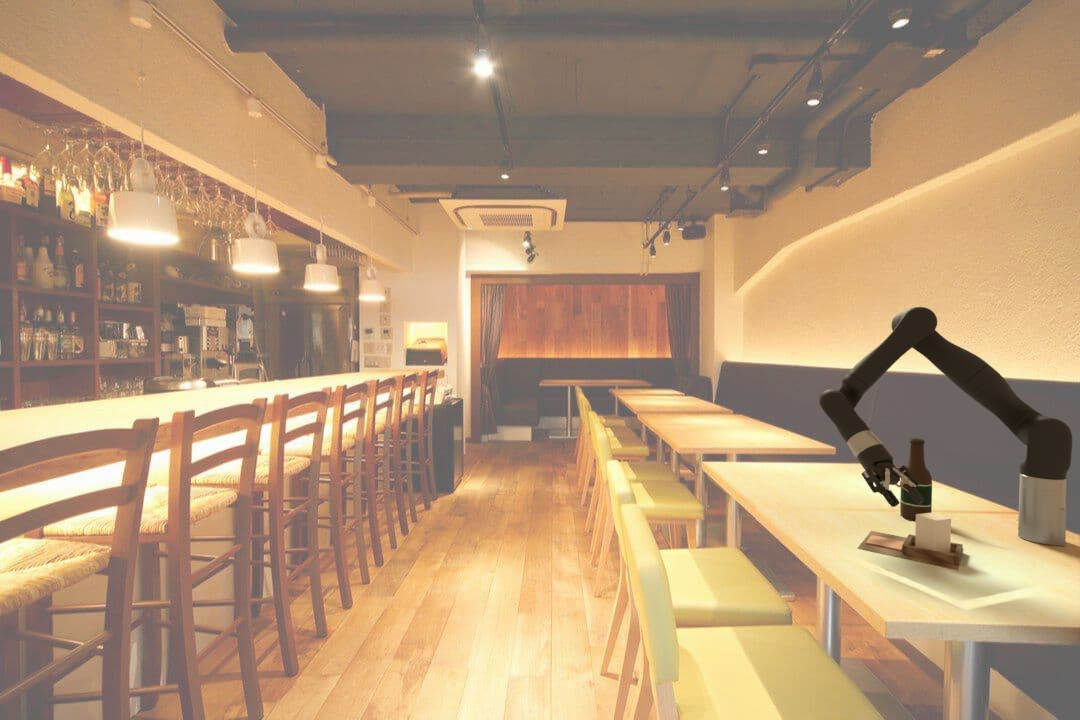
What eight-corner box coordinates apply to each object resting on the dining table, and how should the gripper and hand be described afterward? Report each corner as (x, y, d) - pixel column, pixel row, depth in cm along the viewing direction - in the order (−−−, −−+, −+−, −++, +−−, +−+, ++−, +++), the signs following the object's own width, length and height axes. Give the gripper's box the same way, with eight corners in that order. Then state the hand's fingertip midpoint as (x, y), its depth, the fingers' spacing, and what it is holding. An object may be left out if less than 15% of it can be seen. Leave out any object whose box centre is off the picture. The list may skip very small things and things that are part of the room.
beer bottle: (930, 523, 160) (932, 442, 160) (899, 518, 165) (900, 439, 164) (931, 517, 166) (933, 438, 166) (901, 512, 171) (902, 436, 170)
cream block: (929, 548, 137) (930, 512, 136) (950, 555, 132) (951, 518, 132) (915, 550, 135) (915, 514, 135) (935, 557, 130) (936, 520, 130)
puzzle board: (963, 553, 137) (963, 540, 136) (957, 575, 123) (958, 561, 123) (871, 535, 150) (871, 523, 150) (856, 553, 136) (857, 540, 136)
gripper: (858, 444, 145) (898, 498, 134) (897, 441, 149) (939, 494, 139) (841, 460, 150) (878, 513, 139) (879, 457, 155) (918, 509, 144)
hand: (908, 504), depth 139 cm, fingers open, 8 cm apart
